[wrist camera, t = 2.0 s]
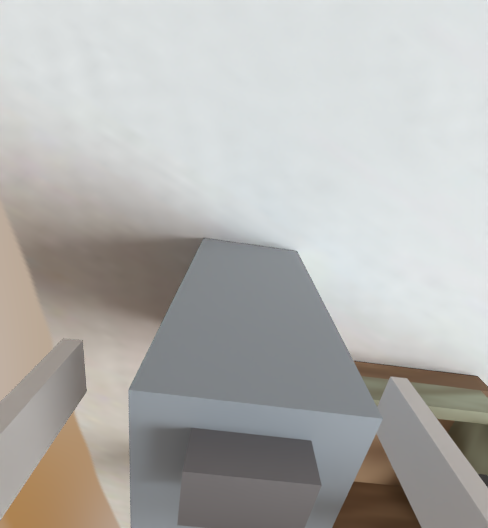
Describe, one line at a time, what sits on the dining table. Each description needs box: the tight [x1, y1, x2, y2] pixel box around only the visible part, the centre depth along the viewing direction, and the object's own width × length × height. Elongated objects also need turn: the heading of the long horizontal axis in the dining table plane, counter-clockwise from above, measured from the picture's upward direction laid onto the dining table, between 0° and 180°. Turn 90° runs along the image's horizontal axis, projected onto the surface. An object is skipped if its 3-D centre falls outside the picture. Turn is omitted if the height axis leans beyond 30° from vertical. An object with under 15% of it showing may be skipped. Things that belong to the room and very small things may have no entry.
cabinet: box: [129, 238, 383, 528], centre depth 13 cm, size 7×6×13 cm
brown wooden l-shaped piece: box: [332, 361, 488, 528], centre depth 18 cm, size 13×22×10 cm, turn 82°
